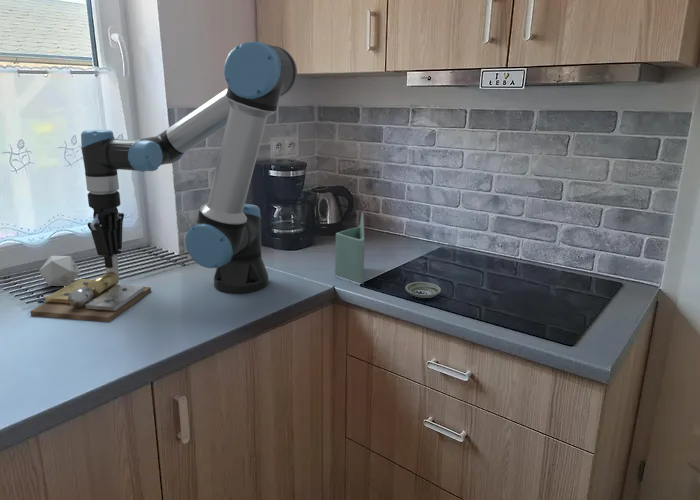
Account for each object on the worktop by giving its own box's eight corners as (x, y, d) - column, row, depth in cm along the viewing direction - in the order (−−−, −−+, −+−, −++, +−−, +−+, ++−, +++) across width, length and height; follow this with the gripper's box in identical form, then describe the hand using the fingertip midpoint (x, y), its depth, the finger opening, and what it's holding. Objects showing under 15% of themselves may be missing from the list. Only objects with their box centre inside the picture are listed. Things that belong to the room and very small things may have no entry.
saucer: (399, 290, 148) (400, 282, 147) (431, 288, 150) (432, 280, 150) (412, 304, 139) (412, 295, 138) (446, 301, 142) (446, 292, 141)
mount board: (150, 291, 143) (150, 287, 143) (109, 321, 124) (108, 317, 124) (82, 286, 145) (81, 282, 145) (30, 315, 126) (30, 310, 126)
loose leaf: (121, 285, 143) (119, 271, 142) (90, 305, 129) (88, 289, 128) (80, 282, 144) (78, 268, 143) (45, 301, 131) (42, 286, 130)
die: (54, 295, 140) (76, 264, 141) (26, 277, 140) (48, 246, 141) (70, 295, 149) (91, 265, 149) (44, 278, 149) (65, 248, 150)
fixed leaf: (144, 290, 140) (143, 275, 138) (115, 310, 126) (113, 295, 125) (102, 287, 141) (100, 272, 140) (69, 307, 128) (67, 291, 127)
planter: (334, 267, 165) (335, 206, 160) (360, 268, 166) (361, 206, 160) (335, 286, 150) (336, 218, 144) (363, 286, 150) (365, 219, 144)
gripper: (104, 186, 142) (113, 269, 149) (73, 195, 130) (85, 285, 137) (130, 187, 141) (138, 271, 148) (102, 196, 129) (112, 287, 136)
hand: (113, 277), depth 142 cm, fingers closed
